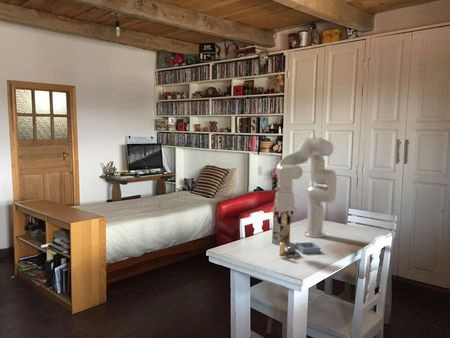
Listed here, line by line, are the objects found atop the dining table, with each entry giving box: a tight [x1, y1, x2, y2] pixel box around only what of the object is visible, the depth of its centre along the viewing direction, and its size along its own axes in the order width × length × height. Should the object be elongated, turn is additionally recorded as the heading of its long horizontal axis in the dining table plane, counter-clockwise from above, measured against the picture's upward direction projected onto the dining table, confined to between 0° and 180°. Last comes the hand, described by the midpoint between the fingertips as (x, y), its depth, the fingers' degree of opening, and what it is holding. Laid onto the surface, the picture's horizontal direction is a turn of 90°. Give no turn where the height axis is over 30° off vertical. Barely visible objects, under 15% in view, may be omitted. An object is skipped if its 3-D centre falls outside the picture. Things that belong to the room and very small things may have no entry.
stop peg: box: [280, 211, 288, 226], centre depth 207 cm, size 4×4×7 cm
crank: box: [279, 242, 297, 257], centre depth 203 cm, size 11×4×7 cm, turn 131°
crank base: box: [284, 251, 301, 261], centre depth 205 cm, size 12×9×1 cm
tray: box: [295, 241, 321, 255], centre depth 214 cm, size 10×10×3 cm
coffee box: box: [271, 215, 292, 246], centre depth 227 cm, size 9×6×16 cm
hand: (283, 223), depth 207 cm, fingers closed on stop peg, 4 cm apart
